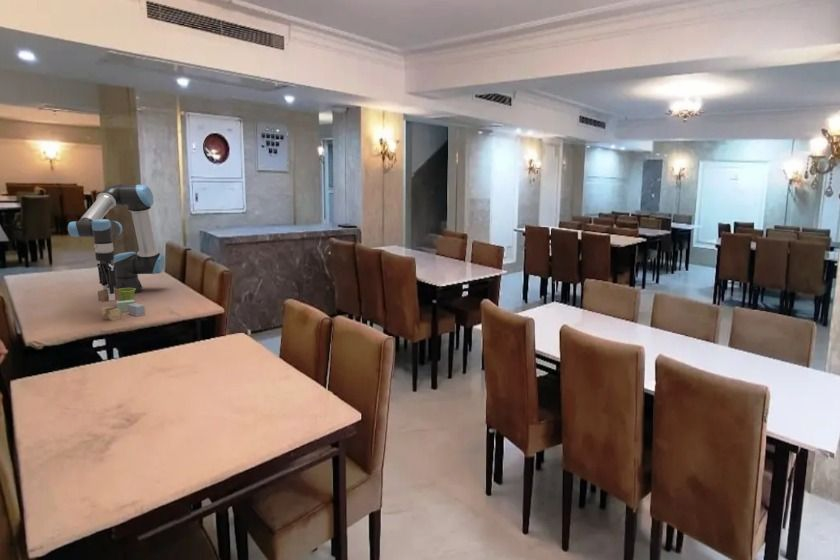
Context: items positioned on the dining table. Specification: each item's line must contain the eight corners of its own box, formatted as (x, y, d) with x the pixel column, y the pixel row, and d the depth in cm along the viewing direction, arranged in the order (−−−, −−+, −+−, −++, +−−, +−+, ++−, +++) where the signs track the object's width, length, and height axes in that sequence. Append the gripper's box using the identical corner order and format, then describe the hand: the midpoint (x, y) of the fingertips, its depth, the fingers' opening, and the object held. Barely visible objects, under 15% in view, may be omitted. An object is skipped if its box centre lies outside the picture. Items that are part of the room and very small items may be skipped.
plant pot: (123, 302, 277) (122, 287, 275) (140, 303, 277) (139, 287, 275) (113, 307, 268) (111, 291, 266) (130, 307, 268) (128, 291, 266)
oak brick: (102, 318, 249) (101, 308, 248) (110, 316, 252) (109, 306, 251) (113, 320, 246) (112, 310, 244) (121, 318, 249) (120, 309, 248)
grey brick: (128, 314, 257) (127, 304, 256) (136, 312, 260) (135, 302, 259) (137, 316, 253) (136, 307, 252) (145, 315, 256) (144, 305, 255)
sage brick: (117, 312, 259) (116, 303, 258) (117, 310, 262) (116, 301, 261) (135, 310, 263) (134, 301, 262) (134, 308, 267) (133, 299, 266)
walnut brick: (103, 302, 242) (102, 292, 241) (98, 301, 244) (97, 291, 243) (120, 299, 249) (119, 289, 248) (115, 297, 251) (114, 288, 250)
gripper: (87, 250, 244) (93, 297, 249) (104, 254, 234) (109, 303, 239) (104, 249, 250) (109, 295, 255) (121, 252, 240) (126, 300, 245)
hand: (109, 299), depth 247 cm, fingers closed on walnut brick, 4 cm apart
